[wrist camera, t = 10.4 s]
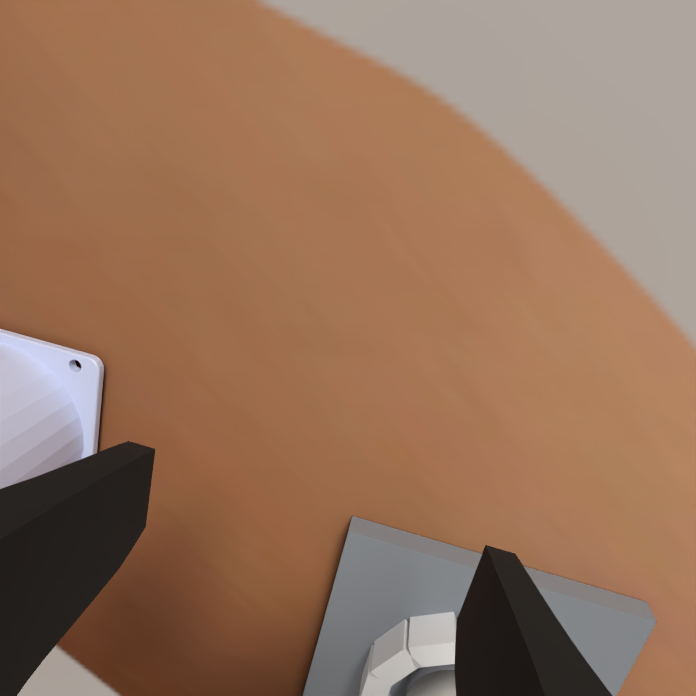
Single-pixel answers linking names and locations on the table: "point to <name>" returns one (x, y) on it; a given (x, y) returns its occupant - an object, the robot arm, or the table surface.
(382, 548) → the socket holder
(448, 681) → the rounded peg
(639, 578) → the table surface
